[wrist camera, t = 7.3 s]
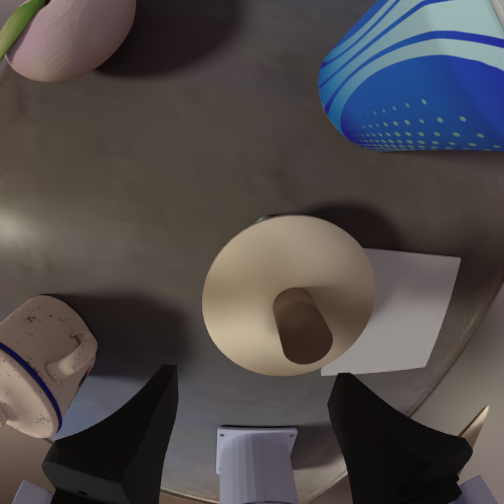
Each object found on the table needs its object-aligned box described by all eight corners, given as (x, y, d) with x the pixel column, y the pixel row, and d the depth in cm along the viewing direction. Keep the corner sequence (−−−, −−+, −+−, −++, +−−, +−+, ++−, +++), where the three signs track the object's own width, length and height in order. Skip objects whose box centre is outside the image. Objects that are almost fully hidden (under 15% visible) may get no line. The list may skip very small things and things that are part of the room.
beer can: (407, 54, 17) (558, -11, 2) (419, 154, 20) (604, 171, 4) (306, 42, 17) (414, -110, 2) (318, 152, 19) (509, 136, 4)
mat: (423, 364, 25) (425, 366, 25) (320, 372, 24) (321, 375, 24) (458, 257, 22) (461, 258, 22) (348, 246, 21) (350, 247, 21)
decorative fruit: (101, 117, 18) (14, 92, 8) (38, 76, 16) (-43, 50, 6) (180, 16, 16) (148, -66, 6) (107, -13, 14) (57, -75, 5)
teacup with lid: (56, 381, 24) (7, 458, 13) (8, 307, 21) (-64, 369, 10) (143, 358, 23) (101, 466, 12) (89, 264, 21) (-4, 340, 9)
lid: (352, 365, 20) (376, 410, 15) (204, 366, 19) (197, 417, 14) (382, 221, 17) (426, 240, 12) (205, 209, 16) (192, 226, 11)
